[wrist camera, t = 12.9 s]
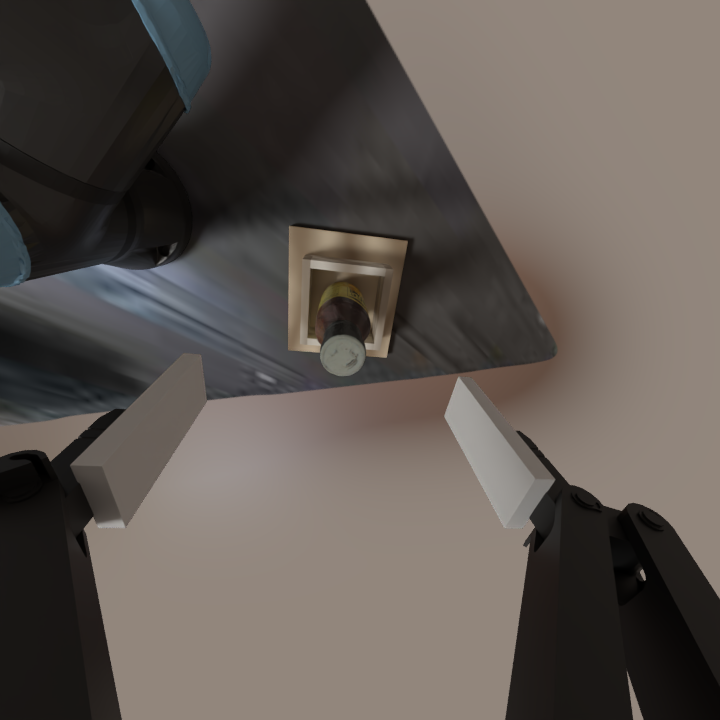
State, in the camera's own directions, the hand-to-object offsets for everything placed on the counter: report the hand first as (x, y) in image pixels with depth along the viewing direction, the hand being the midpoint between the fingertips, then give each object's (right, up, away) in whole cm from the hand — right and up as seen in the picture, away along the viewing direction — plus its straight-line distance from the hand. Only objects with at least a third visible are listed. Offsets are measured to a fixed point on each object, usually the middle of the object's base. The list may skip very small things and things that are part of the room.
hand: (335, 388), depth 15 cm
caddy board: (-1, +11, +28) cm, 30 cm away
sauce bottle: (-1, +11, +27) cm, 29 cm away
